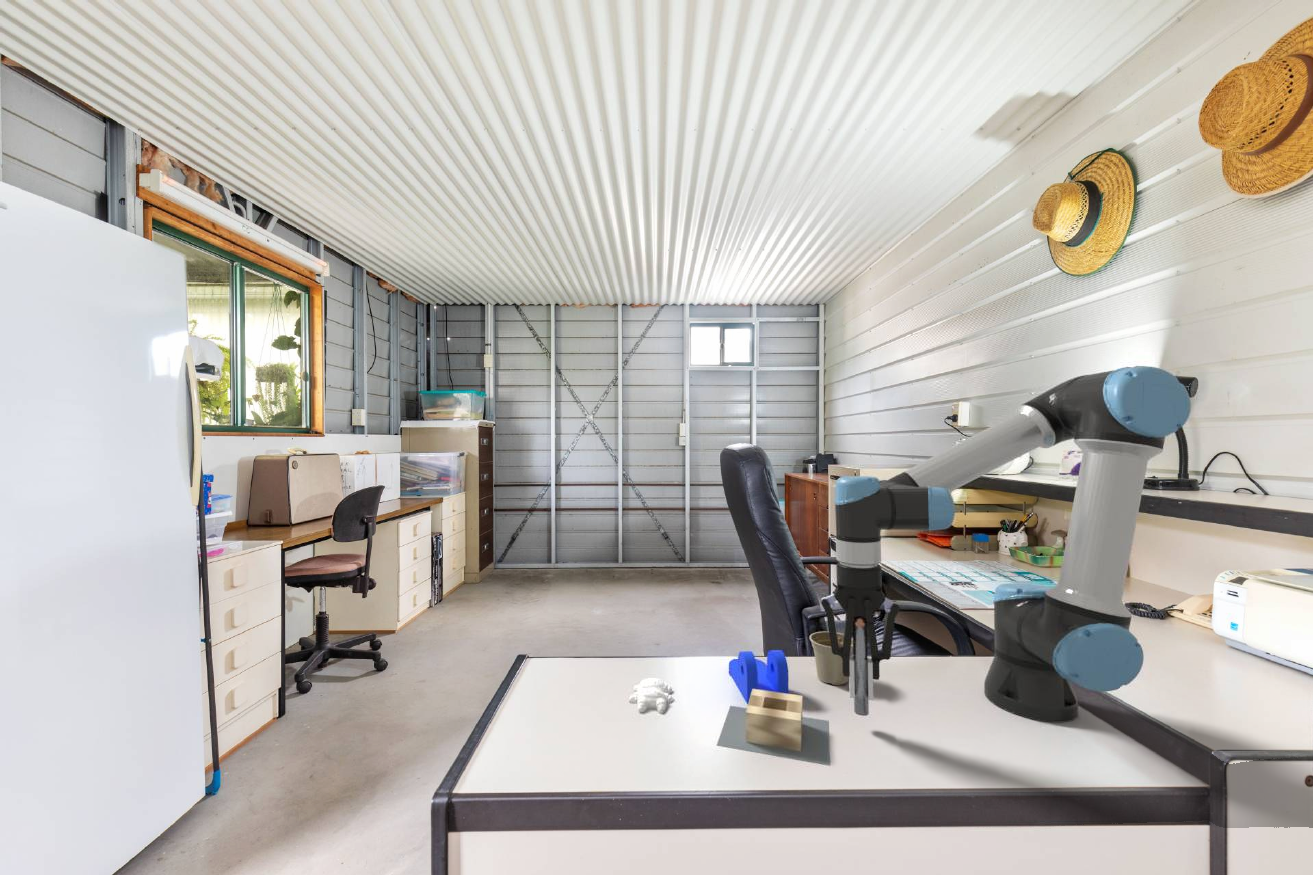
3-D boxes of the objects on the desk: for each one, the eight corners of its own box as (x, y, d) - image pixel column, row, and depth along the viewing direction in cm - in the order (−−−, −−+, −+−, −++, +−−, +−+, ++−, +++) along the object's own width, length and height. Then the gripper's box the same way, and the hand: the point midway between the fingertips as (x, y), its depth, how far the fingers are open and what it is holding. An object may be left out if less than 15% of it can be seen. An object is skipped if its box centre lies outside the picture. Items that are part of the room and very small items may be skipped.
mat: (828, 722, 97) (828, 720, 97) (829, 766, 83) (829, 765, 83) (730, 707, 102) (730, 705, 102) (716, 746, 89) (716, 745, 89)
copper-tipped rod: (868, 709, 95) (866, 613, 95) (869, 716, 93) (867, 617, 93) (853, 707, 96) (851, 611, 96) (854, 714, 93) (852, 616, 94)
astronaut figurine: (624, 713, 100) (625, 697, 100) (636, 684, 112) (636, 670, 112) (670, 717, 99) (670, 701, 99) (677, 687, 111) (677, 673, 111)
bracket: (788, 704, 104) (788, 658, 104) (747, 706, 103) (747, 659, 103) (760, 665, 122) (760, 626, 122) (724, 667, 121) (725, 627, 121)
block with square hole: (802, 723, 96) (802, 695, 96) (800, 751, 87) (800, 720, 87) (752, 715, 98) (752, 688, 98) (745, 741, 90) (745, 712, 90)
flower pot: (840, 693, 108) (840, 651, 108) (800, 678, 115) (801, 638, 115) (863, 680, 114) (863, 640, 114) (824, 666, 121) (824, 628, 121)
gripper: (902, 560, 96) (905, 691, 96) (813, 556, 100) (816, 681, 100) (909, 570, 89) (912, 711, 88) (813, 565, 93) (815, 699, 93)
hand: (861, 695), depth 94 cm, fingers closed on copper-tipped rod, 2 cm apart
